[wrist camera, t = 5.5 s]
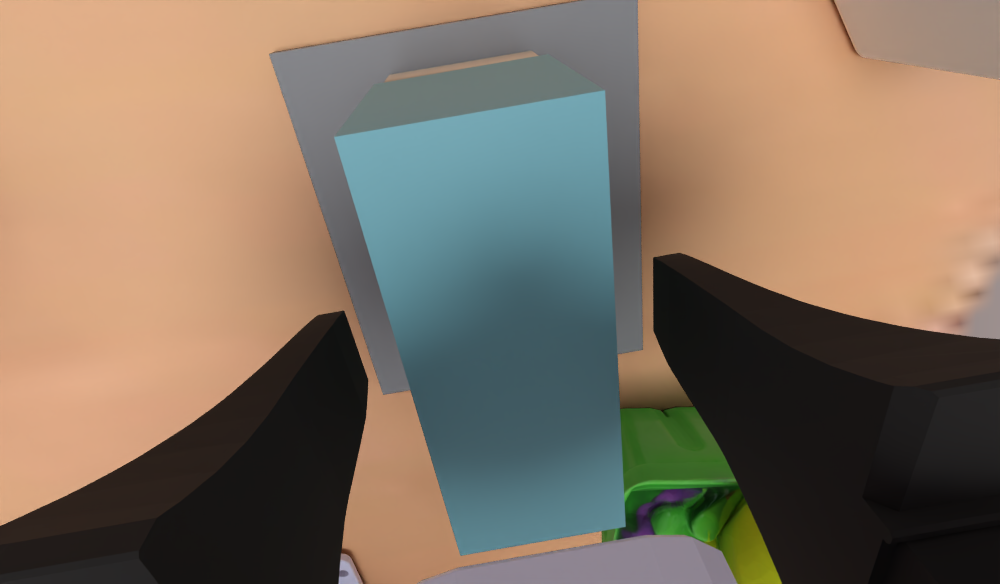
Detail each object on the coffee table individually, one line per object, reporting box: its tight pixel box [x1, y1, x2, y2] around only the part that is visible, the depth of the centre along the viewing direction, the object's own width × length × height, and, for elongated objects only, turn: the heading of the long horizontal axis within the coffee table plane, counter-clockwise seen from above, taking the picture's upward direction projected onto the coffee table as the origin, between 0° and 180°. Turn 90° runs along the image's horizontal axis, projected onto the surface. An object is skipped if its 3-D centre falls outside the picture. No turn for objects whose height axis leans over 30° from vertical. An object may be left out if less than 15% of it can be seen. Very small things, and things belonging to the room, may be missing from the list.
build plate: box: [269, 0, 643, 395], centre depth 18 cm, size 12×10×1 cm
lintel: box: [334, 54, 626, 556], centre depth 12 cm, size 10×4×5 cm, turn 9°
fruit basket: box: [602, 407, 782, 584], centre depth 19 cm, size 11×9×11 cm
